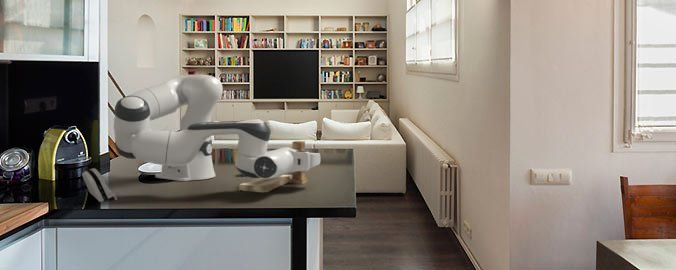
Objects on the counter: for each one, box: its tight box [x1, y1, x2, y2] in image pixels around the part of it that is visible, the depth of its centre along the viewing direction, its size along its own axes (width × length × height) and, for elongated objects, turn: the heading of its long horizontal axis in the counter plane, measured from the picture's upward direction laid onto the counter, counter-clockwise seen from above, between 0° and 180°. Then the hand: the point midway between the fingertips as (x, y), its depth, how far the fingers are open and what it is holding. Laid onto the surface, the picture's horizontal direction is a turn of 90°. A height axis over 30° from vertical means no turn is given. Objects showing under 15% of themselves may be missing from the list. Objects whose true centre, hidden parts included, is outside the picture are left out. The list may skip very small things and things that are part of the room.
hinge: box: [81, 167, 118, 203], centre depth 161 cm, size 17×5×10 cm, turn 36°
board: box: [238, 174, 292, 193], centre depth 181 cm, size 10×22×2 cm, turn 163°
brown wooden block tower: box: [286, 140, 308, 185], centre depth 187 cm, size 7×5×15 cm
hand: (299, 155), depth 187 cm, fingers open, 8 cm apart
